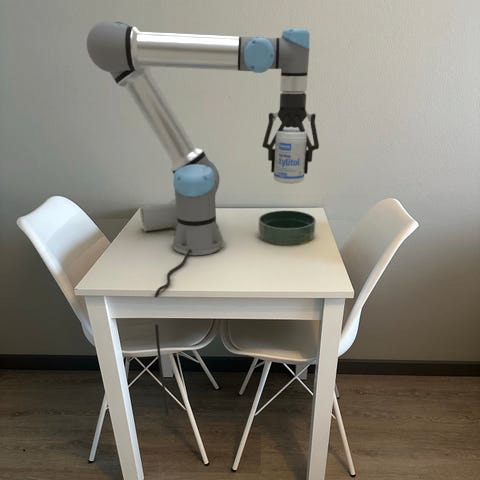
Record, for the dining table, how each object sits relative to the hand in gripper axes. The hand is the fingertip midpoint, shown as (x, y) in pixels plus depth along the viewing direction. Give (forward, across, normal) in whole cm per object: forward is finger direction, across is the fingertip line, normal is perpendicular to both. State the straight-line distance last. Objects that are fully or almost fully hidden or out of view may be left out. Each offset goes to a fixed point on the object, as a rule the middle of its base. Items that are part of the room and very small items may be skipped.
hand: (289, 172), depth 145 cm
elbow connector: (+20, +41, -1) cm, 46 cm away
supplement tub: (+3, 0, 0) cm, 3 cm away
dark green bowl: (+19, 0, +4) cm, 20 cm away
